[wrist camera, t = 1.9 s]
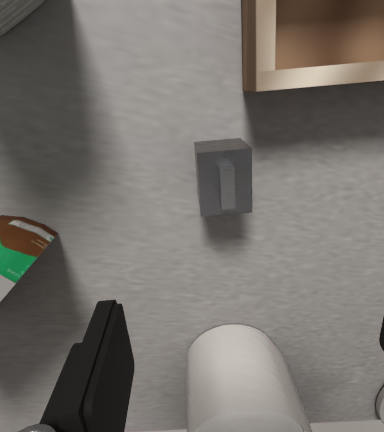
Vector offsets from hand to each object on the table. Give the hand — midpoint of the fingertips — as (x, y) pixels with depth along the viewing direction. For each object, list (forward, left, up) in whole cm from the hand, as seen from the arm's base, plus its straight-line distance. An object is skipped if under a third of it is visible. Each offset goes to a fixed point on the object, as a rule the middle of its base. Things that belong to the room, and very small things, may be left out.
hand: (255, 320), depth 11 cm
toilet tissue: (-2, +22, -19) cm, 29 cm away
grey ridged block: (-1, -1, -19) cm, 19 cm away
